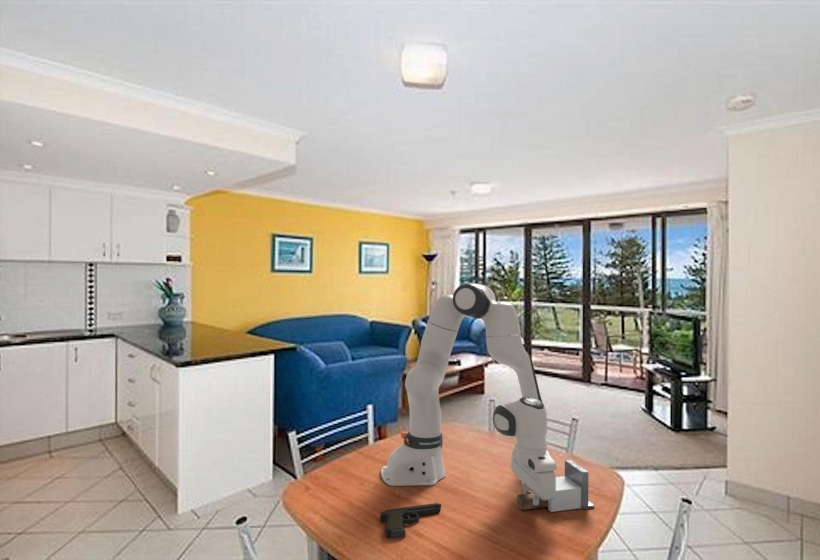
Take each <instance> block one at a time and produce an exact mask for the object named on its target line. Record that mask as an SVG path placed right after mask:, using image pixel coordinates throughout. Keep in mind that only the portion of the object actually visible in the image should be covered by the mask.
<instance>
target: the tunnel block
mask: <svg viewBox="0 0 820 560" xmlns="http://www.w3.org/2000/svg"><path fill="white" fill-rule="evenodd" d="M555 477H556V492H555V497H554V499H552V500H548V507H547V510H548V511H550V513H553V512H561V511H567V510H568V511H570V510H576V509H577V510H578V509H581V487H580V486H578V485H577V484H576V483H574V482H573V481H572V480H570V479H569V478H568V477H566V476H565V475H563V476H555Z"/></svg>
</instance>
